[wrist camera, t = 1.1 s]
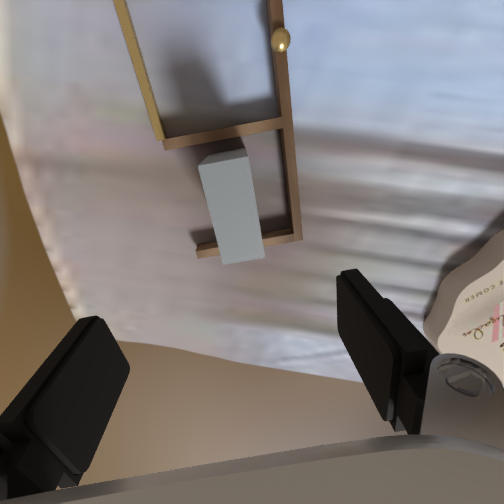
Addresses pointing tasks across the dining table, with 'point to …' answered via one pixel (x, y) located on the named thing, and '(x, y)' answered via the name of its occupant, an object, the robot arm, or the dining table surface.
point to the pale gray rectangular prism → (232, 205)
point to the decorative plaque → (472, 309)
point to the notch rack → (283, 122)
